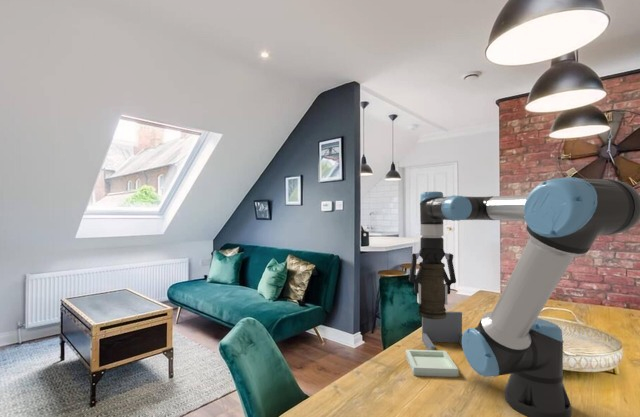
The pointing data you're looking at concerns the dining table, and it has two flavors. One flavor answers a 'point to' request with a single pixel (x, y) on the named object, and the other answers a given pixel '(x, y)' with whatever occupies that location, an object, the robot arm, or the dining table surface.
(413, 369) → the tray
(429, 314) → the container
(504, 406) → the dining table surface
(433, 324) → the dock
